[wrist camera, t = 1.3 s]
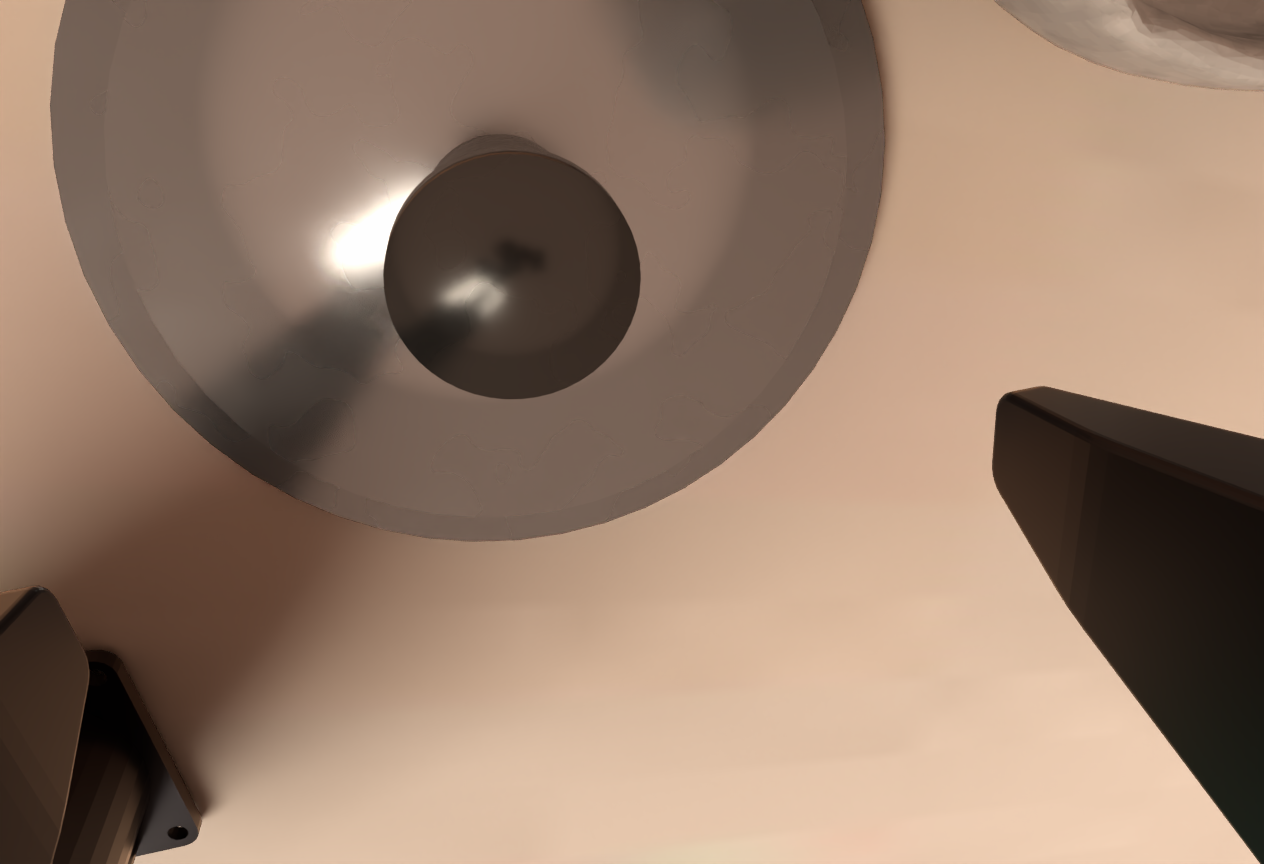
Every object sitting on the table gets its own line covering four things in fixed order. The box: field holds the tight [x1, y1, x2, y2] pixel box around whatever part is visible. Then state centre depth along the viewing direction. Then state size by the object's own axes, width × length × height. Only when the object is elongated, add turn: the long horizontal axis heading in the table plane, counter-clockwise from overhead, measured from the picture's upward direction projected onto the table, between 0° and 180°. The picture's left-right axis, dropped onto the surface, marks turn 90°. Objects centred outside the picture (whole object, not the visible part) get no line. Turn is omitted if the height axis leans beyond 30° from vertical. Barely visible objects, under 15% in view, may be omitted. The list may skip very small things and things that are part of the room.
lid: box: [50, 0, 885, 541], centre depth 17 cm, size 16×16×5 cm
